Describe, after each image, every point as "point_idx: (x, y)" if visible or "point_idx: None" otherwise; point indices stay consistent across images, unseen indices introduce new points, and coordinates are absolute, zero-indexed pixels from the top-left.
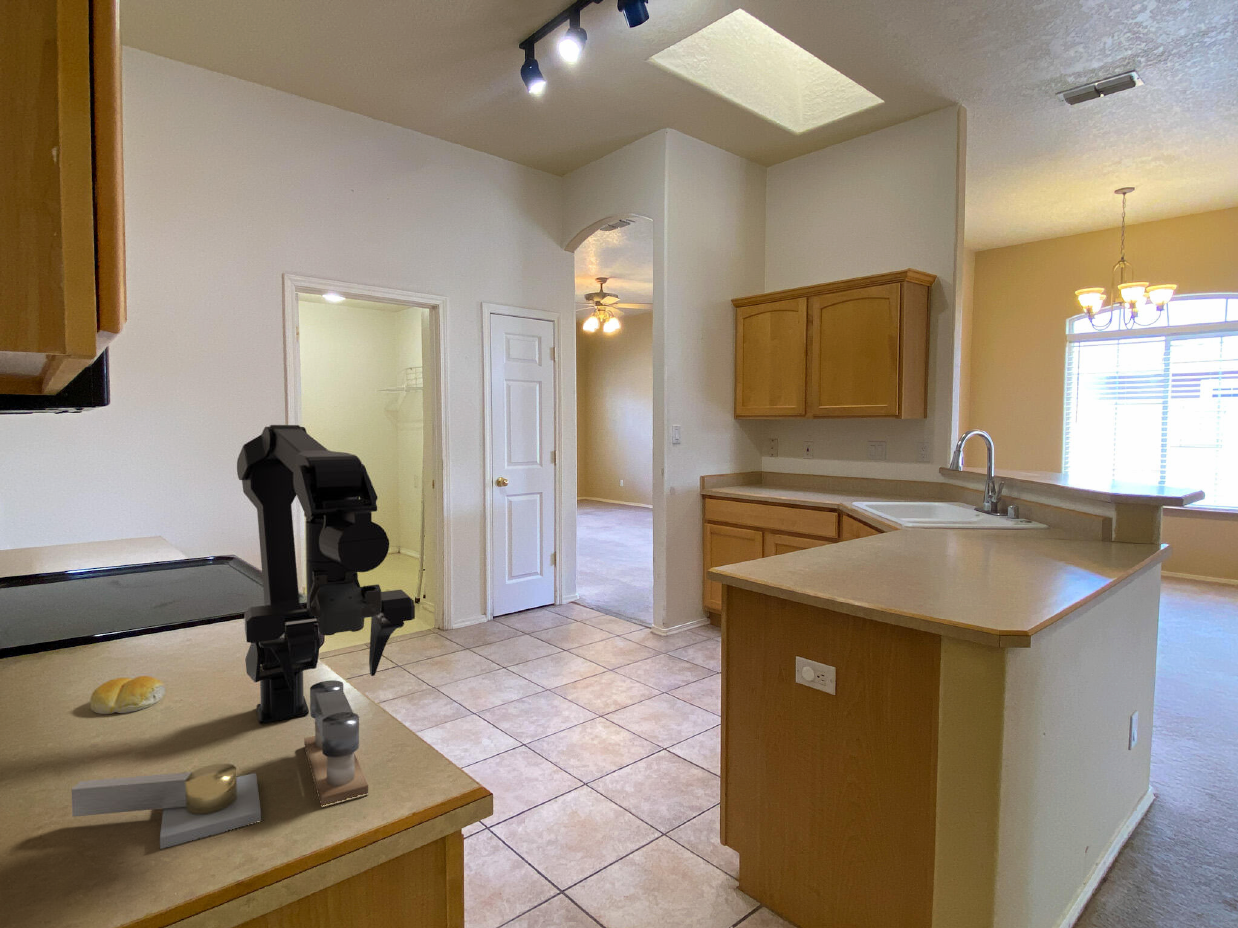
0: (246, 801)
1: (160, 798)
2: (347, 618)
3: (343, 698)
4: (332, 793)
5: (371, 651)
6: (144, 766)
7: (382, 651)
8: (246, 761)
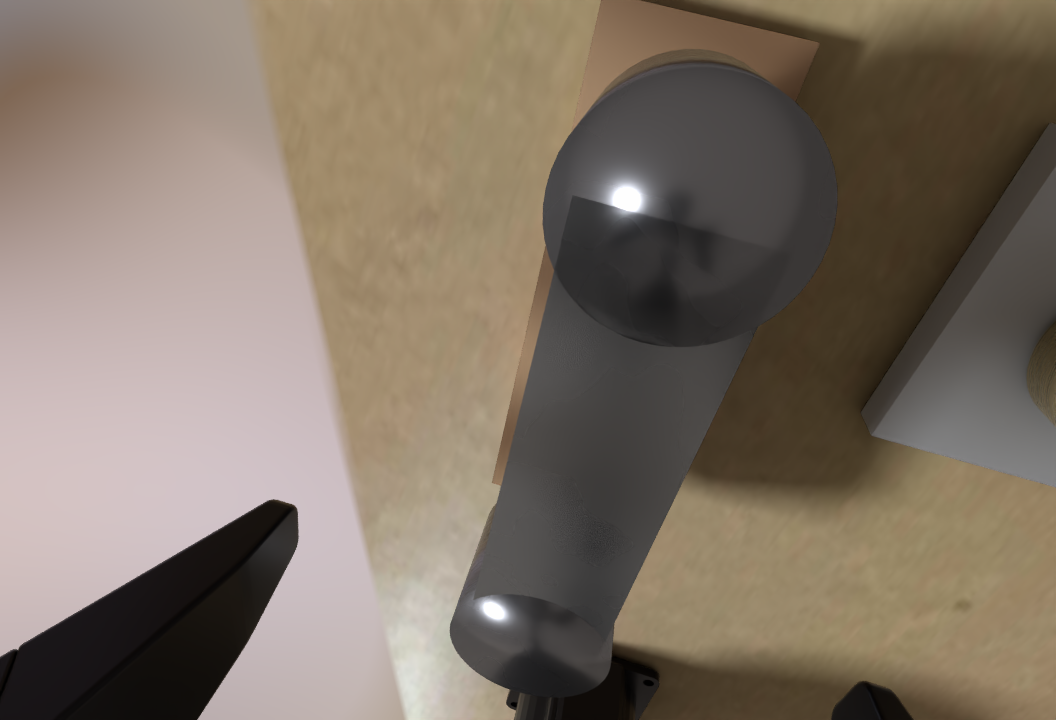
0: (1050, 261)
1: None
2: None
3: (517, 492)
4: (762, 45)
5: (160, 718)
6: (1009, 695)
7: (28, 647)
8: (798, 541)
